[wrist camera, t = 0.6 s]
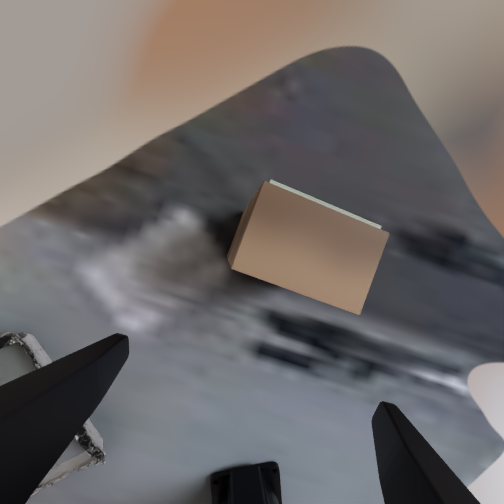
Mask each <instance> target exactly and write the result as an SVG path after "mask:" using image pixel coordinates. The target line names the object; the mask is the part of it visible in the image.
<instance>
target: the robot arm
mask: <svg viewBox="0 0 504 504" xmlns="http://www.w3.org/2000/svg"><path fill="white" fill-rule="evenodd" d="M128 355H129V339H128V336H126V335H123V334H119V333H116V334H113V335H111V336H109V337H107V338H104V339H102V340H100V341H98V342H96V343H93V344H91V345H89V346H87V347H85V348H83V349H80V350H78V351H76V352H74V353H72V354H69V355H67V356H65V357H63V358H61V359H58V360H56V361H54V362H52V363H50V364H47V365H45V366H43V367H41V368H39V369H36V370H34V371H32V372H30V373H28V374H26V375H23V376H21V377H19V378H17V379H15V380H12V381H10V382H8V383H6V384H4V385H1V386H0V504H25V503H26V502H27V500H28V499H29V498H30V496H31V495H32V494H33V492H34V491H35V490H36V488H37V487H38V486H39V484H40V483H41V482H42V480H43V479H44V478H45V476H46V475H47V474H48V472H49V471H50V469H51V468H52V467H53V465H54V464H55V463H56V461H57V460H58V459H59V457H60V456H61V455H62V453H63V452H64V451H65V449H66V448H67V447H68V445H69V444H70V443H71V441H72V440H73V438H74V437H75V436H76V434H77V433H78V432H79V430H80V429H81V428H82V426H83V425H84V424H85V422H86V421H87V420H88V418H89V417H90V416H91V414H92V413H93V412H94V410H95V409H96V407H97V406H98V405H99V403H100V402H101V400H102V399H103V397H104V396H105V394H106V393H107V391H108V389H109V388H110V386H111V385H112V383H113V381H114V380H115V378H116V376H117V375H118V373H119V371H120V370H121V368H122V367H123V365H124V363H125V362H126V360H127V358H128ZM372 430H373V437H374V444H375V451H376V459H377V466H378V473H379V479H380V484H381V489H382V493H383V498H384V502H385V504H480V503H479V501H478V500H477V499H476V498H475V497H474V496H473V494H472V493H471V492H470V491H469V490H468V489H467V487H466V486H465V485H464V484H463V483H462V482H461V480H460V479H459V478H458V477H457V476H456V475H455V473H454V472H453V471H452V470H451V469H450V468H449V466H448V465H447V464H446V463H445V462H444V461H443V459H442V458H441V457H440V456H439V455H438V454H437V452H436V451H435V450H434V449H433V448H432V447H431V446H430V444H429V443H428V442H427V441H426V440H425V439H424V437H423V436H422V435H421V434H420V433H419V432H418V430H417V429H416V428H415V427H414V426H413V425H412V423H411V422H410V421H409V420H408V419H407V418H406V416H405V415H404V414H403V413H402V412H401V411H400V409H399V408H398V407H397V406H396V405H394V404H392V403H388V402H384V401H382V402H380V403H379V405H378V407H377V409H376V411H375V413H374V415H373V417H372ZM273 468H275V469H274V470H273ZM215 480H217V481H215ZM211 493H212V504H282V499H281V485H280V472H279V466H278V464H277V463H276V462H271V463H265V464H260V465H255V466H250V467H244V468H239V469H234V470H229V471H223V472H218V473H214V474H213V475H212V476H211Z"/></svg>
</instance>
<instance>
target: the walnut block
mask: <svg viewBox="0 0 504 504" xmlns="http://www.w3.org/2000/svg"><path fill="white" fill-rule="evenodd" d="M388 236H389V233H388V232H386V231H383V230H381V226H380V225H378V224H375V223H373V222H371V221H368V220H366V219H363V218H361V217H359V216H356V215H354V214H352V213H349V212H347V211H344V210H342V209H340V208H337V207H335V206H333V205H330V204H328V203H325V202H323V201H321V200H318V199H316V198H314V197H311V196H309V195H307V194H304V193H302V192H299V191H297V190H295V189H292V188H290V187H288V186H285V185H283V184H280V183H278V182H276V181H273V180H270V181H269V182H267V181H264V182H263V183H262V185H261V186H260V188H259V189H258V191H257V192H256V194H255V195H254V197H253V198H252V200H251V201H250V203H249V204H248V206H247V207H246V209H245V210H244V212H243V215H242V217H241V220H240V223H239V225H238V228H237V231H236V233H235V236H234V239H233V241H232V244H231V247H230V249H229V252H228V255H227V259H228V262H229V264H230V267H231V269H233V270H236V271H239V272H242V273H244V274H247V275H250V276H253V277H256V278H258V279H261V280H264V281H267V282H269V283H272V284H275V285H278V286H280V287H283V288H286V289H289V290H291V291H294V292H297V293H300V294H303V295H305V296H308V297H311V298H314V299H316V300H319V301H322V302H325V303H327V304H330V305H333V306H336V307H338V308H341V309H344V310H347V311H350V312H352V313H355V314H358V315H360V313H361V310H362V307H363V304H364V302H365V299H366V296H367V294H368V291H369V288H370V285H371V283H372V280H373V277H374V274H375V272H376V269H377V266H378V263H379V261H380V258H381V255H382V252H383V250H384V247H385V244H386V241H387V239H388Z"/></svg>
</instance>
